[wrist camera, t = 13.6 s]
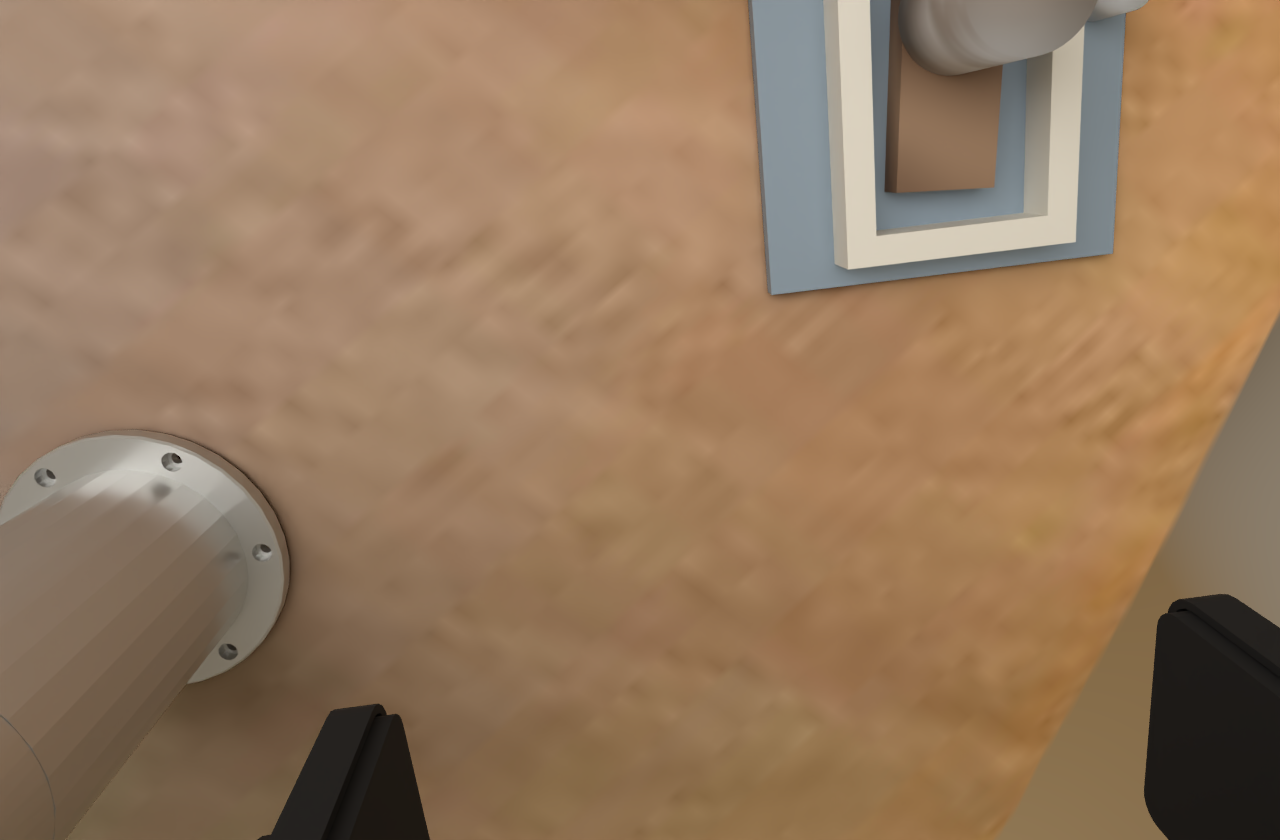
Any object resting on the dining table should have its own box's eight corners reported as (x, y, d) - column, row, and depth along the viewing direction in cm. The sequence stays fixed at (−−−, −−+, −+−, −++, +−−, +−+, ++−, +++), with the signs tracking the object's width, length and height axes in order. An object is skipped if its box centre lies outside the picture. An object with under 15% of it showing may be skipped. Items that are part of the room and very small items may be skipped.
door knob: (890, -168, 32) (978, -265, 24) (1006, -173, 32) (1127, -270, 25) (879, 192, 35) (952, 199, 28) (982, 185, 36) (1081, 192, 28)
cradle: (767, 292, 37) (784, 304, 34) (730, -258, 31) (746, -305, 28) (1102, 251, 37) (1149, 259, 34) (1129, -301, 31) (1189, -353, 28)
